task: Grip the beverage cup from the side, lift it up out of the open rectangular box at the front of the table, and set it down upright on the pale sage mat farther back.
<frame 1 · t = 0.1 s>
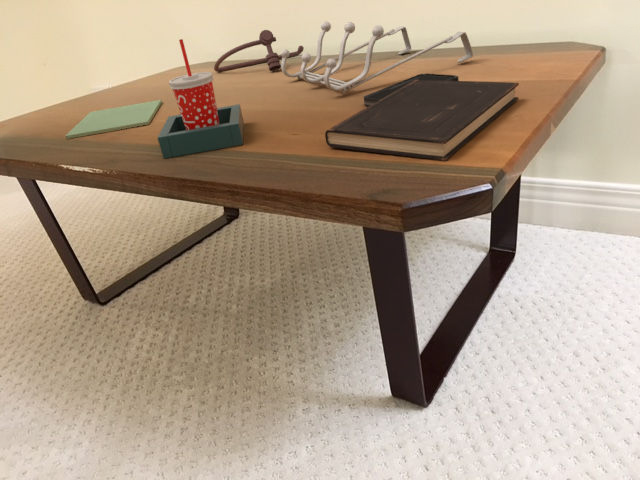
toilet paper hanger: (266, 68, 122), on the table
phone: (411, 94, 84), on the table, touching hardcover book
hardcover book: (426, 123, 71), on the table, touching phone
mat: (117, 119, 98), on the table
beverage cup: (206, 141, 79), resting in open rectangular box
open rectangular box: (206, 139, 79), on the table
over door rack: (373, 73, 102), on the table
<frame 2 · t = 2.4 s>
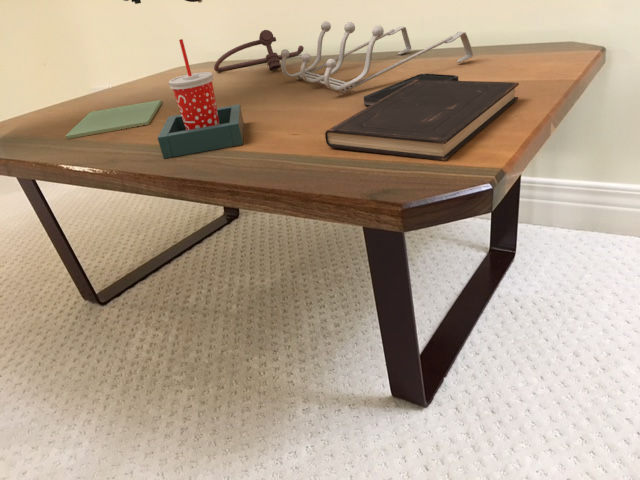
nothing on the table moved.
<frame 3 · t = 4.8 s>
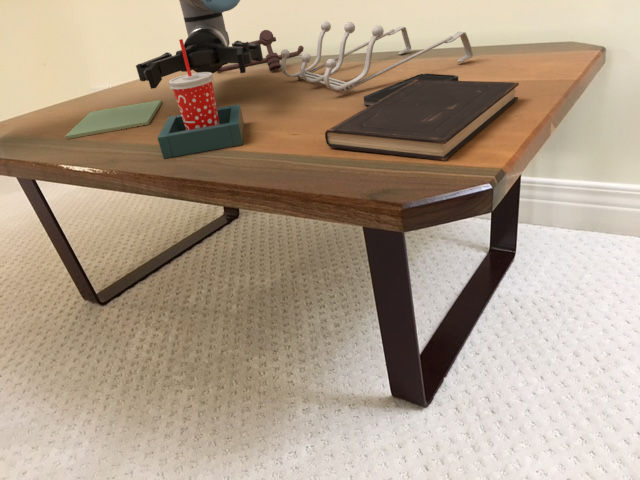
hand: (196, 71, 81), 9 cm above the table, tool horizontal, fingers open, 13 cm apart
nothing on the table moved.
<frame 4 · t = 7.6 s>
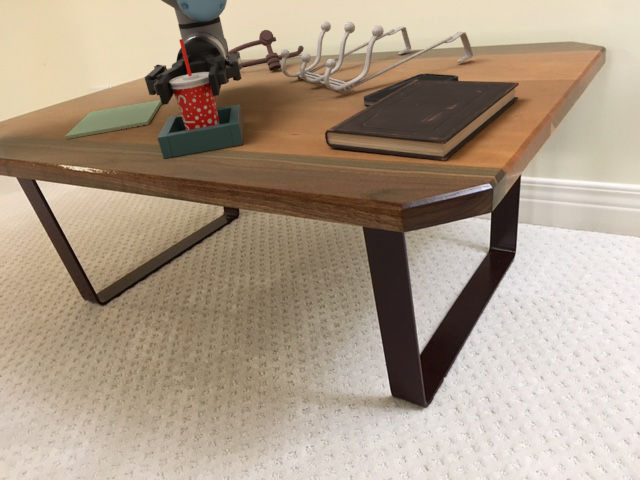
hand: (187, 89, 70), 8 cm above the table, tool horizontal, fingers closed on beverage cup, 6 cm apart
beverage cup: (206, 141, 79), resting in open rectangular box, touching gripper
everything else where it was.
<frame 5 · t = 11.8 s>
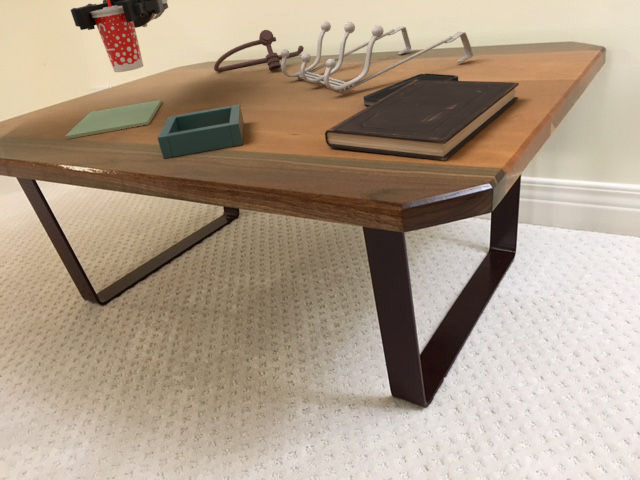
hand: (103, 15, 78), 18 cm above the table, tool horizontal, fingers closed on beverage cup, 6 cm apart
beverage cup: (129, 70, 86), point 9 cm above the table, touching gripper
everything else where it was.
when the fingers open (9 cm above the table, at t = 16.1 s): beverage cup stays where it is, resting on mat.
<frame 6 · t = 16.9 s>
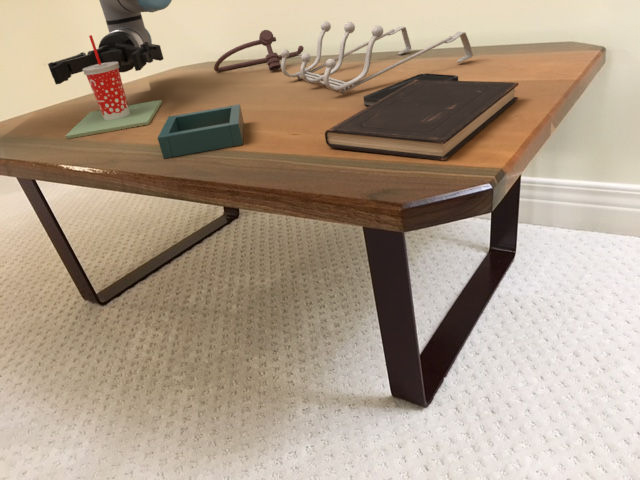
hand: (95, 69, 91), 10 cm above the table, tool horizontal, fingers open, 13 cm apart
beverage cup: (117, 117, 98), resting on mat
everything else where it was.
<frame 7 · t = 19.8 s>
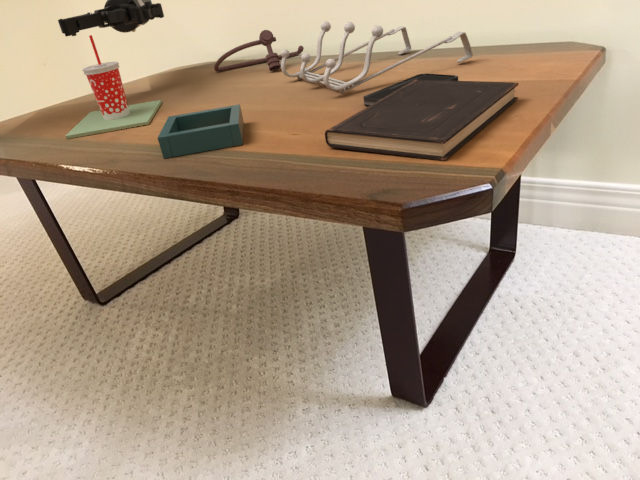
hand: (101, 22, 100), 16 cm above the table, tool horizontal, fingers open, 13 cm apart
nothing on the table moved.
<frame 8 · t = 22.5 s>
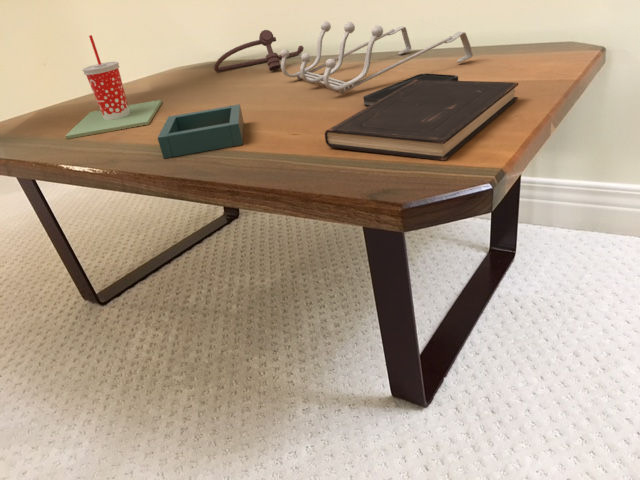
nothing on the table moved.
at the end: beverage cup inside the target area on the mat (0.1 cm from its centre), point 0.4 cm above the mat's base; beverage cup tilted 0°; the gripper is holding nothing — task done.
